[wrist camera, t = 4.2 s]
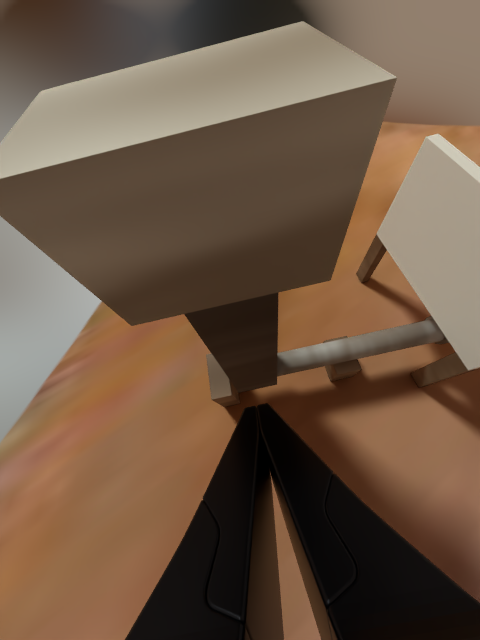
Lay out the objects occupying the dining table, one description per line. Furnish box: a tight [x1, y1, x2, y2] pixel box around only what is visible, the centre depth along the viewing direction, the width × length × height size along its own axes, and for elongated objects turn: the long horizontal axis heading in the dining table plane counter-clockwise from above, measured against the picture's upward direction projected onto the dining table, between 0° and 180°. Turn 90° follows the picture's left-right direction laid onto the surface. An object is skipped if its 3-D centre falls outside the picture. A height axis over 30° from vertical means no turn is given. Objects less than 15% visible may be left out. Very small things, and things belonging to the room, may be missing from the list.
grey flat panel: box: [377, 134, 480, 370], centre depth 11 cm, size 10×1×6 cm, turn 11°
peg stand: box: [206, 234, 479, 407], centre depth 16 cm, size 10×14×4 cm
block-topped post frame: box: [0, 21, 449, 393], centre depth 9 cm, size 3×14×14 cm, turn 100°
